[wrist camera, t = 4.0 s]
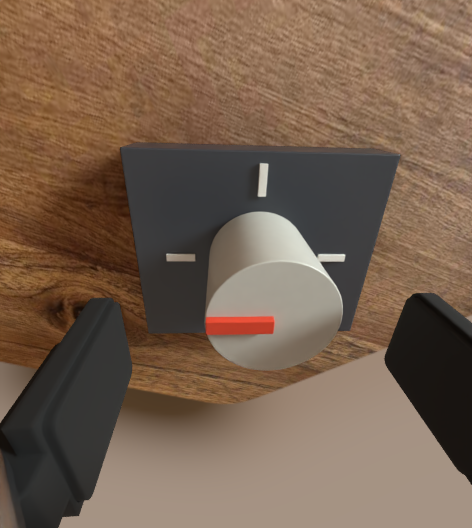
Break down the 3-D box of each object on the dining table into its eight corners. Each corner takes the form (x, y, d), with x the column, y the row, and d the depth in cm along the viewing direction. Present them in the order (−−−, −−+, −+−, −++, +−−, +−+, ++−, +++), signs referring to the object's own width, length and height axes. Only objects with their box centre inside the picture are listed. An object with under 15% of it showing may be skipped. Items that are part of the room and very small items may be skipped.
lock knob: (311, 211, 13) (362, 265, 8) (297, 296, 15) (331, 376, 11) (208, 210, 13) (201, 265, 8) (210, 296, 15) (205, 379, 10)
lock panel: (373, 148, 14) (403, 154, 12) (335, 306, 19) (351, 333, 17) (135, 142, 14) (117, 147, 11) (157, 307, 18) (147, 335, 16)
